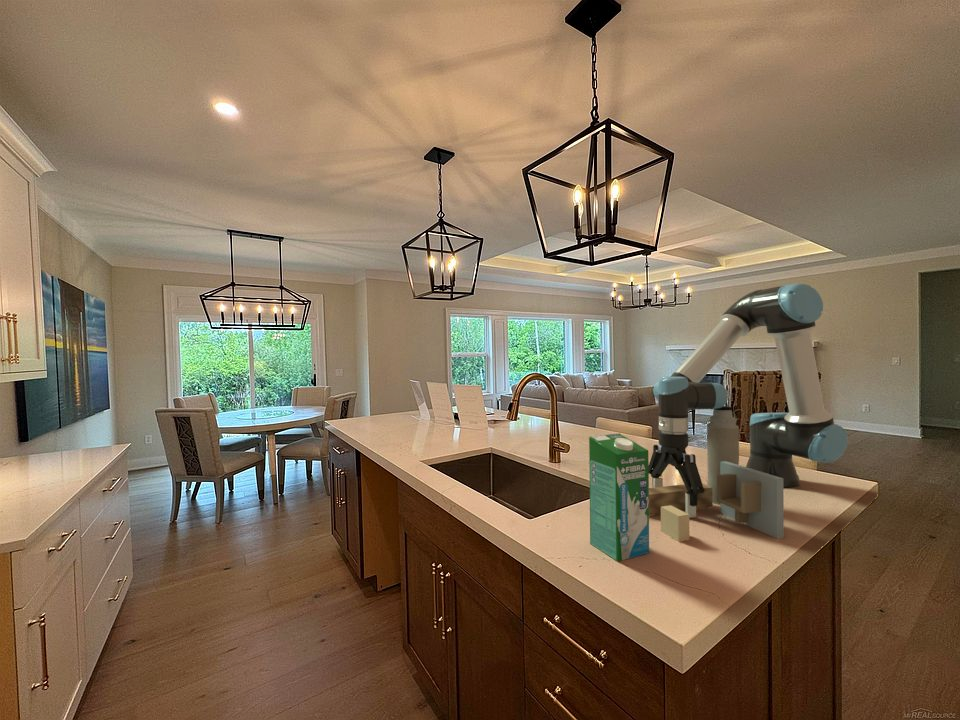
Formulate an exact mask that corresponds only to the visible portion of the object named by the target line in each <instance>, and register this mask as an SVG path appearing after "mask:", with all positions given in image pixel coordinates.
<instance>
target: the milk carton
mask: <svg viewBox="0 0 960 720" xmlns="http://www.w3.org/2000/svg"><path fill="white" fill-rule="evenodd" d="M588 441H589V442H588V443H589V445H588V446H589V447H588V449H589V450H588V451H589V452H588V454H589V456H588V458H589V461H588V462H589V463H588V464H589V534H590V535H589V536H590V537H589V544H590V545H592V546H594V548H597V549H598V550H599V551H601V552H603V553H604V554H605V555H606V556H608V557H610V558H611V559H613V560H615V561H616V562H621V561H624V560H629V559H632V558H635V557H638V556H643V555H645V554H649V553H650V516H649V488H650V484H649V483H650V482H649V480H650V479H649V478H650V477H649V463H650V460H649V450H648V449H647V448H645V447H644V446H641V445H640V444H639V443H636V442H635V441H633V440H632V439H630V438H628V437H626V436H625V435H623V434H621V433H611V434H603V435H591V436H589V437H588Z"/></svg>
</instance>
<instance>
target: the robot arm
mask: <svg viewBox="0 0 960 720" xmlns="http://www.w3.org/2000/svg"><path fill="white" fill-rule="evenodd" d="M823 310H824V302H823V299H822V297H821V294H820V293H819V291H818V290H817V289H816V288H814V287H812V286H811V285H809V284H806V283H792V284H791V283H790V284H784V285H783V284H782V285H779V286H773V287H769V288H763V289H757V290H754V291H751V292H749V293H747V294H745V295H743V296H742V297H740V298H739V299H737V301H736V302H734V303H733V304H732V305H730V307H729V308H727V309H726V310H725V311H724V312H723V314H722V315H721V316H720V317H719V319H718V324H717V325H716V326H715V327H714V328H713V329H712V330H711V332H709V334H707V336H706V337H705V338H704V339H703V340H702V341H701V342H700V344H698V346H697V347H696V348H695V349H694V350H693V351H692V352H691V353H690V355H689V356H688V357H686V359H685V360H684V361H682V364H680V365H679V366H678V367H677V369H675V371H674V372H673V373H672V374H670V376H661V377H660V378H659V380H657V381H656V383H655V384H654V386H653V390H652V391H653V392H652V393H653V395H654V398H655V399H656V400H657V402H658V430H659V432H658V444H653V446H652V449H653V450H652V453H651V458H650V460H649V474H650V476H651V479H652V480H651V481H652V483H651V485H652V488H655V487H664V486H663V483H664V482H663V473H664V472H665V470H666V469H667V467H668V466H669V465H671V466H673V467H674V469H675V470H677V471H678V473H679V474H678V475H680V478H681V480H682V482H683V484H685V487H686V489H687V491H688V492H686V493H685V511H684V512H685V513H687V514H689V519H691V518H696V517H697V510H696V506H697V495H698V493H704V488H703V485H702V484H703V482H702V479H701V476H700V473H699V468H698V466H697V462H696V461H697V460H696V458H697V457H696V454H694V453H693V454H692V453H691V454H688V453H687V451H686V449H687V448H688V446H689V433H687V432H689V411H693V410H697V411H698V410H711V411H713V410H714V409H717V408H721V407H723V406H726V404H727V402H728V391H727V389H726V387H725V386H724V385H722V384H721V383H719V382H710V381H709V382H701V381H702V380H703V378H705V376H706V375H707V374H708V373H709V372H710V371H711V370H712V369H713V368H714V367H715V365H716V364H717V363H718V362H720V360H721V359H722V358H723V357H724V355H725V354H726V353H727V352H728V351H729V350H730V349H731V348H732V347H733V345H734V344H735V343H736V342H737V341H738V340H739V339H740V338H741V337H745V336H747V335H748V334H749V333H750V332H751V331H752V330H754V329H756V328H760V327H766V333H767V335H770V336H771V337H773V338H774V343H775V347H776V352H777V356H778V362H779V366H780V373H781V377H782V383H783V388H784V392H785V398H786V404H787V408H788V412H758V413H757V412H755V413H752V414H751V415H750V418H749V419H750V420H749V452H750V453H749V458H748V460H747V463H746V466H745V467H747V468H750V469H754V470H757V471H760V472H764V473H767V474H770V475H774V476H777V477H780V478H783V488H792V487H794V488H795V487H797V486H799V485H800V477H799V475H798V473H797V470H796V467H795V464H794V462H793V461H794V460H793V456H794V457H798V458H801V459H802V458H803V459H806V460H810V461H811V462H819V463H825V464H827V463H833V462H835V461H837V460H838V459H840V458H841V457H842V456H843V455H844V453H845V451H846V450H847V447H848V442H849V441H848V440H849V437H848V433H847V430H846V428H844V427H843V426H841V425H839V424H835V420H834V417H833V414H832V413H831V412H829V411H827V410H826V409H825V405H824V404H825V403H824V399H823V394H822V389H821V388H822V387H821V382H820V377H819V372H818V366H817V363H816V362H817V361H816V357H815V352H814V351H815V349H814V346H813V341H812V336H811V332H812V331H813V330H814V329H815V328H816V322H817V321H818V320H819V319H820V318H821V317H822V312H823ZM691 487H692V489H691Z"/></svg>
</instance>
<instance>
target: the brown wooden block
mask: <svg viewBox="0 0 960 720" xmlns="http://www.w3.org/2000/svg"><path fill="white" fill-rule="evenodd" d="M702 485H703V488H704V493H698V495H697V506H696V511H698V510H699V511H700V510H706V509H712V508H713V506H714V503H713V495H712V487H710V486H708V484H705V483H702ZM691 489H692V487H691ZM686 492H688V491H687V489H686V487H685V484H684V483H683V484H675V485H667V486H663V487H655V488H653V487H649V517H650V516H651V517H652V516H659V515H660V516H661V507H662V506H670V505H671V506H673V507H675V508H677V509H679V510H681V511H683V512H686V511H685V493H686Z"/></svg>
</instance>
